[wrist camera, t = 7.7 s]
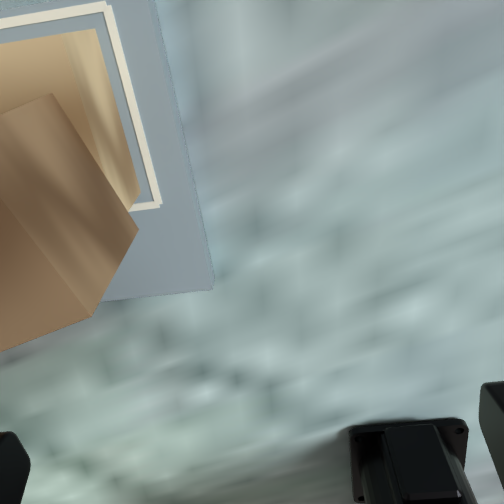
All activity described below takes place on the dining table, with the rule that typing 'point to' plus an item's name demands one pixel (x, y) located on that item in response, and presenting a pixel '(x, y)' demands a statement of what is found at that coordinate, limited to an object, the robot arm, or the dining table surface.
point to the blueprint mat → (138, 140)
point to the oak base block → (72, 97)
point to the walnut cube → (53, 224)
